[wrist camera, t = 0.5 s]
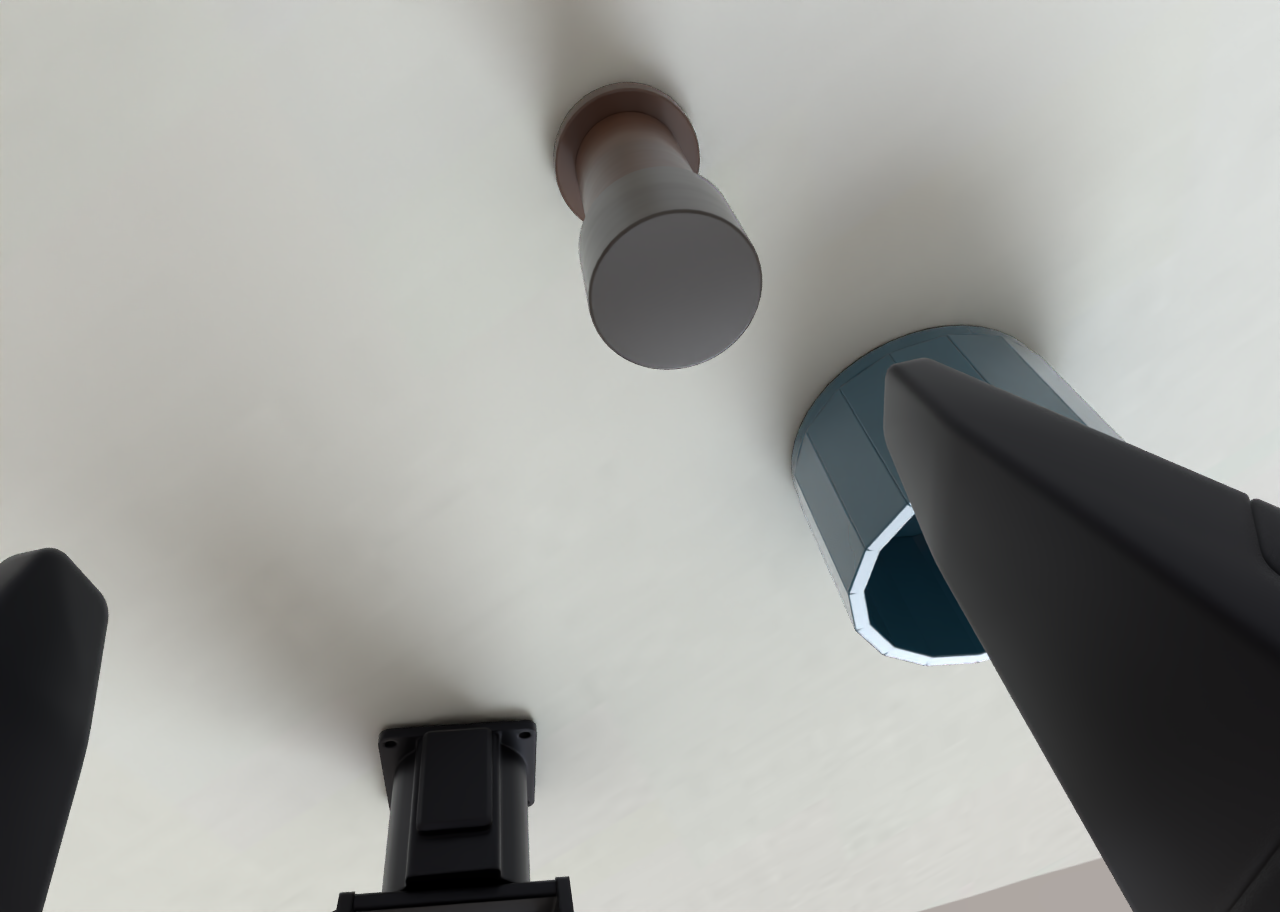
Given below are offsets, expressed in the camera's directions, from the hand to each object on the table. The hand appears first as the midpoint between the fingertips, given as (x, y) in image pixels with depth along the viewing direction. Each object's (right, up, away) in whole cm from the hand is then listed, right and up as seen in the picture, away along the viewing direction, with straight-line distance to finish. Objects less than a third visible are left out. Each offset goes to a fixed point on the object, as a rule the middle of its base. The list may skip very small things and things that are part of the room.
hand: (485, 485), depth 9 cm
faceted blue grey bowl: (+11, +1, +19) cm, 22 cm away
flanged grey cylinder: (+1, +8, +12) cm, 14 cm away
